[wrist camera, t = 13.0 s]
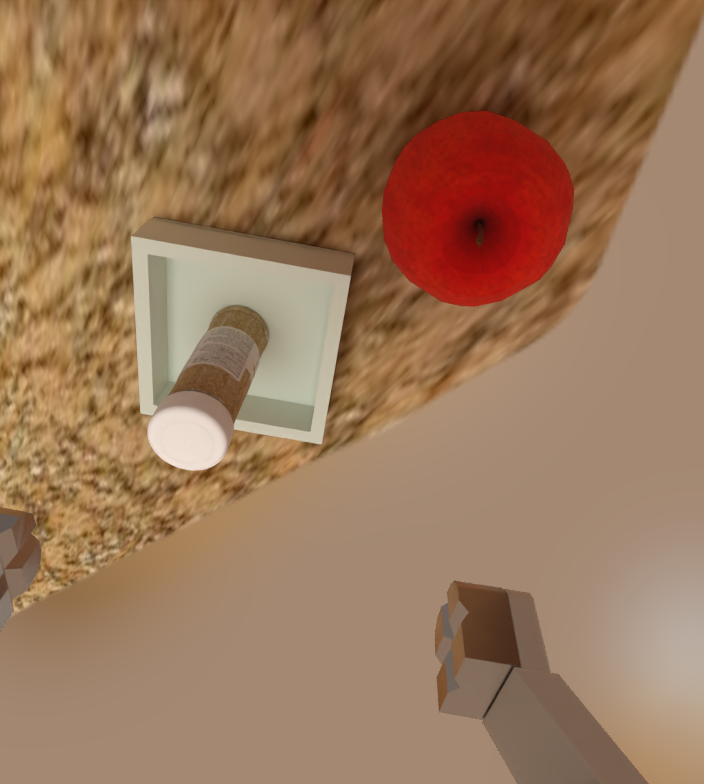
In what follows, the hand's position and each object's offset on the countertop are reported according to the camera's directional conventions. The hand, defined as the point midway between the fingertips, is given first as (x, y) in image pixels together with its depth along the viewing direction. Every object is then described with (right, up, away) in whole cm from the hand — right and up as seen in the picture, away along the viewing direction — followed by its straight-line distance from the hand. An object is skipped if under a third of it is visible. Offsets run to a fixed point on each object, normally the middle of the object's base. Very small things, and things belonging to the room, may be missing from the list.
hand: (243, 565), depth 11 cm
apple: (+9, +17, +26) cm, 32 cm away
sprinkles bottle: (-6, +8, +32) cm, 34 cm away
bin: (-6, +9, +32) cm, 34 cm away
